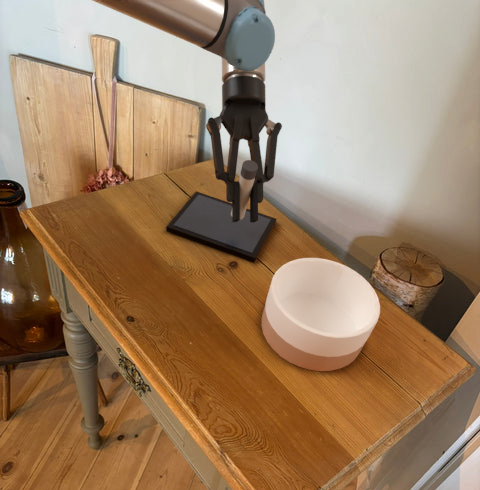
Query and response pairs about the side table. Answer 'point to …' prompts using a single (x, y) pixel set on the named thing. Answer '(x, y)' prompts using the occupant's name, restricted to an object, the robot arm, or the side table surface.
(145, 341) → the side table surface
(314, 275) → the bowl
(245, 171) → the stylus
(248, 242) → the tablet
